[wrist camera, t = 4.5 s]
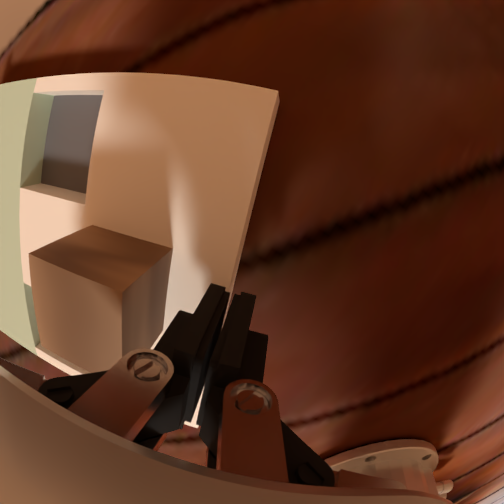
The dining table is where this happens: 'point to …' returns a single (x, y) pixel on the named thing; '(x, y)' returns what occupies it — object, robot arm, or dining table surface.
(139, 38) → the dining table surface
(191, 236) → the board
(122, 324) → the walnut block
